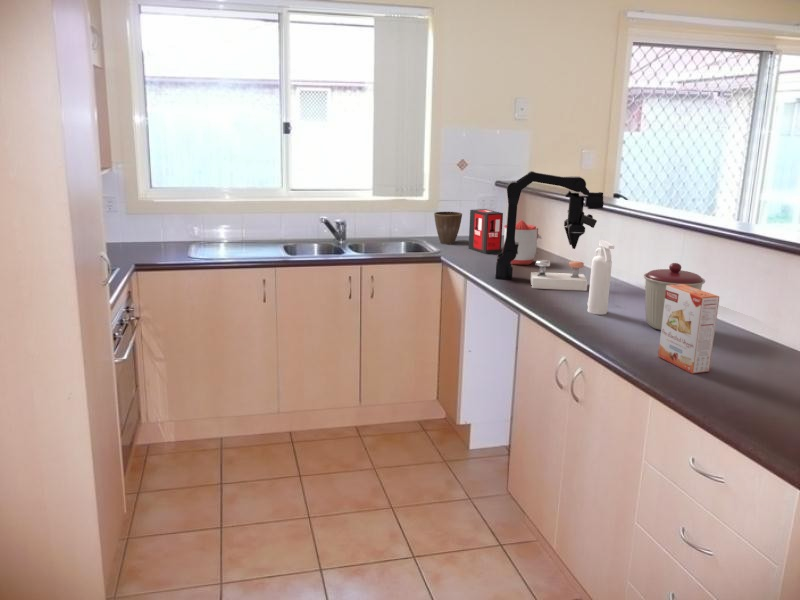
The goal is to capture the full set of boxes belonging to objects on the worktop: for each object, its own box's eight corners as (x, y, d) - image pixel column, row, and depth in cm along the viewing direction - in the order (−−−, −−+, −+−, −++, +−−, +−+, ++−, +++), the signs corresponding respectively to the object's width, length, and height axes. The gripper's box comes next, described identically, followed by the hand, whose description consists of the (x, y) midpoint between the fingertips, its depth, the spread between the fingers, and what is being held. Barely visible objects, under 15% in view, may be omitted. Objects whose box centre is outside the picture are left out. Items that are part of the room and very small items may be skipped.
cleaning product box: (500, 253, 342) (503, 213, 337) (485, 254, 338) (487, 213, 333) (483, 247, 356) (485, 209, 351) (468, 248, 352) (470, 209, 347)
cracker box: (656, 357, 191) (665, 284, 185) (674, 355, 192) (683, 283, 187) (691, 374, 178) (701, 296, 172) (710, 372, 180) (721, 295, 174)
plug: (535, 275, 271) (536, 262, 269) (534, 272, 276) (535, 259, 275) (549, 276, 270) (550, 262, 269) (548, 273, 275) (549, 260, 274)
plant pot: (447, 246, 357) (448, 215, 353) (427, 242, 368) (428, 212, 364) (466, 243, 367) (468, 213, 363) (446, 239, 378) (447, 210, 374)
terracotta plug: (569, 276, 269) (570, 263, 268) (567, 273, 275) (568, 260, 273) (583, 277, 269) (584, 264, 267) (581, 274, 274) (582, 261, 273)
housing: (532, 288, 269) (532, 278, 268) (530, 281, 280) (530, 271, 279) (586, 290, 266) (587, 280, 265) (582, 283, 278) (583, 274, 277)
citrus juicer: (542, 266, 310) (545, 222, 305) (504, 265, 311) (506, 222, 306) (536, 260, 326) (539, 218, 321) (500, 259, 326) (502, 217, 321)
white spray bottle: (598, 305, 244) (603, 236, 236) (613, 316, 232) (620, 243, 225) (580, 306, 242) (585, 237, 235) (594, 317, 231) (600, 244, 224)
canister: (685, 320, 228) (693, 258, 222) (708, 336, 210) (717, 269, 205) (631, 319, 228) (637, 257, 223) (648, 335, 211) (656, 268, 205)
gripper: (600, 212, 265) (596, 251, 269) (592, 206, 283) (589, 243, 287) (570, 211, 266) (567, 250, 270) (565, 205, 284) (562, 242, 288)
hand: (572, 246), depth 279 cm, fingers open, 9 cm apart
